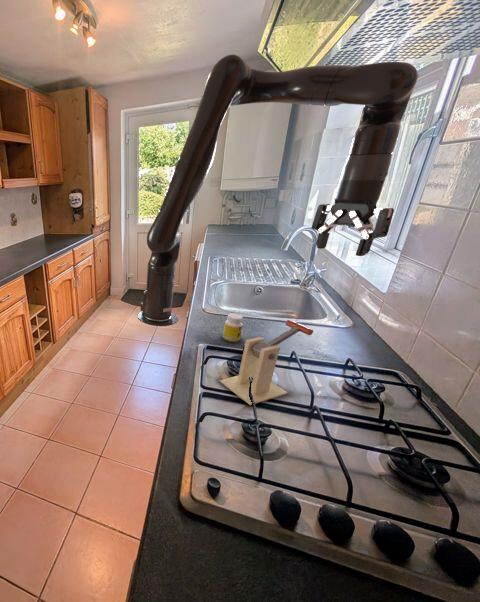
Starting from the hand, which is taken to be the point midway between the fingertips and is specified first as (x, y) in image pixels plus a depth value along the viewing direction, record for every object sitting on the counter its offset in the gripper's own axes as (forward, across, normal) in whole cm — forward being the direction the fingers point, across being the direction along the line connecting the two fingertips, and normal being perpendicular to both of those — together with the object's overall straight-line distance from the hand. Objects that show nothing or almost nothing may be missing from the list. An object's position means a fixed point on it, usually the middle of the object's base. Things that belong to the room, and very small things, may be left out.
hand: (339, 251), depth 71 cm
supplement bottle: (+30, -16, -11) cm, 36 cm away
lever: (+18, +5, -19) cm, 27 cm away
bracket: (+30, +5, -25) cm, 39 cm away
